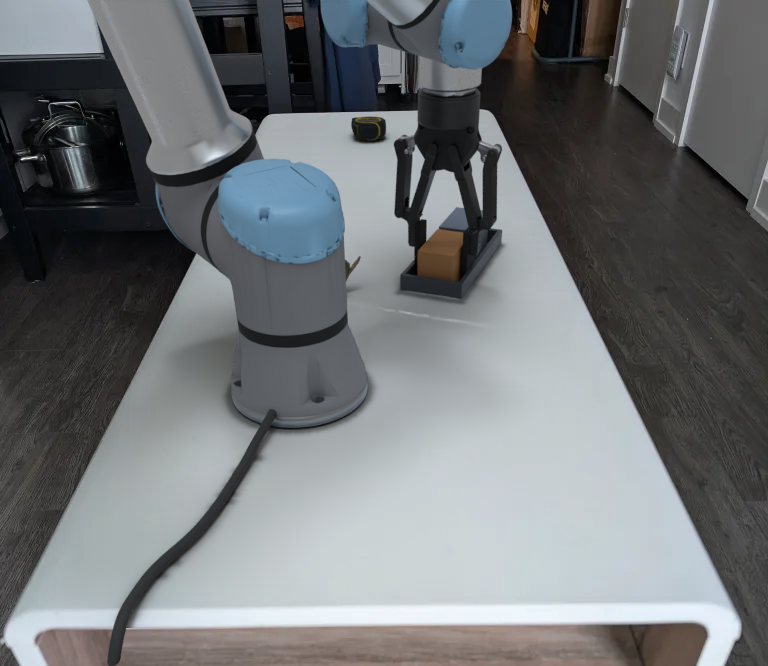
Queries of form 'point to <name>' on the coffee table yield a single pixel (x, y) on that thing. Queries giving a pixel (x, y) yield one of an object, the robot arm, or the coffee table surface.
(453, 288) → the carrier tray
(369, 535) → the coffee table surface
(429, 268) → the brown block
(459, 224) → the grey block
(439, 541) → the coffee table surface
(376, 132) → the tape measure
